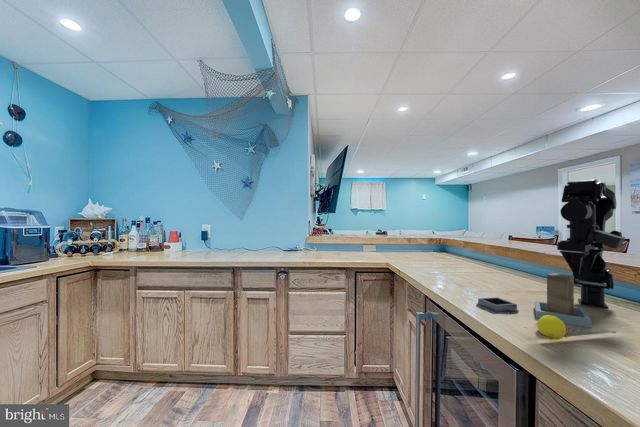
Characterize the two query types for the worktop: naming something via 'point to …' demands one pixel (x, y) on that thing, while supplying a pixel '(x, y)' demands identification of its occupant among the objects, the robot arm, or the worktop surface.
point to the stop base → (497, 305)
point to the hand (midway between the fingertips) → (582, 273)
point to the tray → (569, 319)
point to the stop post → (560, 294)
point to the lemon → (551, 327)
